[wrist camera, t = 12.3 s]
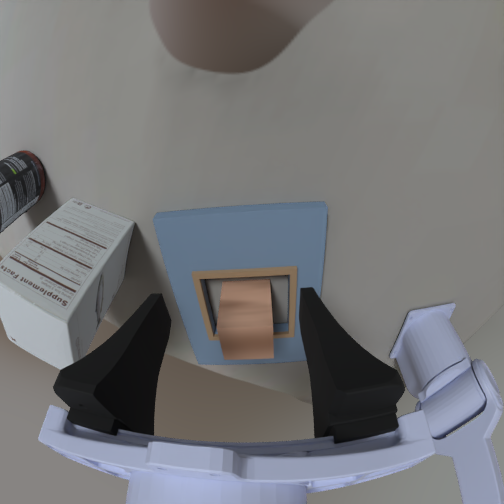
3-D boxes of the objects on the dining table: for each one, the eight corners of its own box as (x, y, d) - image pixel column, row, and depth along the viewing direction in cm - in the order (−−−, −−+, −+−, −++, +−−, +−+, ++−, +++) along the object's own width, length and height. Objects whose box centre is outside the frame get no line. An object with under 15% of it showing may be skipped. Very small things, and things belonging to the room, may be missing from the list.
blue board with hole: (310, 352, 33) (311, 362, 31) (199, 356, 33) (198, 366, 32) (324, 201, 22) (328, 209, 21) (157, 212, 23) (151, 221, 21)
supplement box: (125, 279, 27) (77, 380, 16) (68, 253, 25) (5, 339, 14) (138, 220, 23) (69, 326, 12) (72, 193, 21) (-17, 275, 11)
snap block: (270, 312, 29) (273, 358, 24) (228, 313, 29) (224, 359, 24) (269, 279, 26) (273, 326, 21) (222, 281, 27) (216, 328, 22)
